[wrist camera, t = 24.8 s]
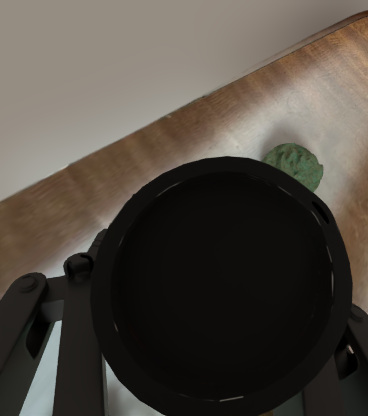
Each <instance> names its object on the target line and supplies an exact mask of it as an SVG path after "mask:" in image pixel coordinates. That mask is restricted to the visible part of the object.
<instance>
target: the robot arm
mask: <svg viewBox="0 0 368 416" xmlns="http://www.w3.org/2000/svg"><path fill="white" fill-rule="evenodd" d="M134 195H135V194H133V196H134ZM133 196H132V197H133ZM106 231H107V229H103V230H102V231H101V232H99V233H98V234H97V236H96V238H95V239H94V241H93V243H92V245H91V246H90V248H89V250H88V252H84V253H77V254H74V255H72V256H70V257H69V258H68V259H67V260H66V261H65V262H64V265H63V268H64V272H65V275H64V276H60V277H54V278H48V279H46V277H45V275H43V274H42V273H37V272H34V273H28V274H26V275H23V276H21V277H19V278H18V279H16V280H15V281H14V282H13V283H12V284H11V286H10V287H9V289H8V290H7V291H6V293H5V294H4V296H3V297H2V299H1V300H0V416H19V414H20V411H21V409H22V406H23V404H24V401H25V399H26V396H27V394H28V391H29V388H30V386H31V383H32V381H33V378H34V376H35V373H36V371H37V368H38V365H39V363H40V360H41V358H42V355H43V353H44V350H45V347H46V345H47V342H48V340H49V337H50V335H51V332H52V330H53V327H54V324H55V322H56V321H60V320H62V326H61V336H60V346H59V356H58V365H57V375H56V385H55V395H54V405H53V415H52V416H109V413H108V397H107V380H106V363H105V358H104V357H103V354H102V352H101V349H100V346H99V343H98V340H97V337H96V335H95V332H94V329H93V321H92V314H91V306H90V291H91V276H92V270H93V266H94V263H95V259H96V255H97V251H98V248H99V246H100V244H101V241H102V239H103V237H104V235H105V233H106ZM349 346H351V348H352V350H353V352H354V353H353V354H352V353H351V351H350V350H349V348H348V347H349ZM273 416H368V315H367V314H366V312H365V311H363V310H362V309H361V308H360V307H358V306H356V305H355V304H353V303H352V307H351V311H350V315H349V318H348V322H347V326H346V330H345V332H344V334H343V336H342V338H341V340H340V342H339V344H338V346H337V348H336V350H335V352H334V354H333V355H332V356H331V358H330V359H329V360H328V362H327V363H326V364H325V366H324V367H323V368H322V370H321V371H320V372H319V374H318V375H317V376H316V377H315V378H314V379H313V380H312V381H311V382H310V383H309V384H308V385H307V386H305V387H304V388H303V389H302V390H301V391H300V392H299V393H298V394H297V395H295V396H294V397H292V398H291V399H289V400H287V401H286V402H284V403H283V404H281V405H280V406H278V407H277V408H275V409H273Z"/></svg>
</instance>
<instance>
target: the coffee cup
mask: <svg viewBox="0 0 368 416" xmlns="http://www.w3.org/2000/svg"><path fill="white" fill-rule="evenodd" d="M352 287H353V282H352V276H351V269H350V262H349V259H348V255H347V252H346V248H345V245H344V242H343V239H342V236H341V234H340V231H339V229H338V226H337V224H336V221H335V219H334V217H333V215H332V213H331V211H330V209H329V208H328V206H327V205H326V204H325V203H324V202H323V201H322V200H321V199H320V198H319V197H318V196H316V195H315V194H314V193H313V192H312V191H310V190H309V189H308V188H307V187H305V186H304V185H303V184H302V183H300V182H299V181H298V180H296V179H294V178H293V177H291V176H290V175H288V174H287V173H285V172H284V171H282V170H280V169H278V168H276V167H274V166H272V165H269V164H267V163H264V162H261V161H257V160H254V159H250V158H243V157H231V156H225V157H215V158H205V159H201V160H198V161H194V162H190V163H187V164H183V165H181V166H179V167H176V168H174V169H172V170H170V171H167V172H165V173H163V174H161V175H160V176H158V177H157V178H155V179H154V180H152V181H151V182H149V183H148V184H146V185H145V186H143V187H142V188H141V189H140V190H139V191H138V192H137V193H136V194H135V195H134V196H133V197H132V198H131V199H129V200H128V201H127V202H126V203H125V204H124V206H123V207H122V209H121V210H120V211H119V213H118V214H117V215H116V217H115V218H114V219H113V221H112V222H111V223H110V225H109V227H108V229H107V231H106V233H105V235H104V237H103V239H102V241H101V244H100V246H99V248H98V251H97V255H96V259H95V263H94V266H93V270H92V276H91V291H90V306H91V314H92V321H93V329H94V332H95V335H96V337H97V340H98V343H99V346H100V349H101V352H102V354H103V357H104V358H105V360H106V361H107V363H108V364H109V366H110V368H111V369H112V371H113V372H114V374H115V375H116V377H117V379H118V380H119V381H120V382H121V383H122V384H123V385H124V386H125V387H126V388H127V389H128V390H129V391H130V392H131V393H132V394H133V395H134V396H135V397H136V398H137V399H138V400H140V401H141V402H143V403H145V404H146V405H148V406H150V407H151V408H153V409H155V410H156V411H158V412H159V413H161V414H163V415H165V416H258V415H261V414H264V413H266V412H269V411H271V410H273V409H275V408H277V407H278V406H280V405H281V404H283V403H284V402H286V401H287V400H289V399H291V398H292V397H294V396H295V395H297V394H298V393H299V392H300V391H301V390H302V389H303V388H304V387H305V386H307V385H308V384H309V383H310V382H311V381H312V380H313V379H314V378H315V377H316V376H317V375H318V374H319V372H320V371H321V370H322V368H323V367H324V366H325V364H326V363H327V362H328V360H329V359H330V358H331V356H332V355H333V354H334V352H335V350H336V348H337V346H338V344H339V342H340V340H341V338H342V336H343V334H344V332H345V330H346V326H347V322H348V318H349V315H350V311H351V307H352Z"/></svg>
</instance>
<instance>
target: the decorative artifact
mask: <svg viewBox="0 0 368 416" xmlns="http://www.w3.org/2000/svg"><path fill="white" fill-rule="evenodd" d="M262 162H264V163H267V164H269V165H272V166H274V167H276V168H278V169H280V170H282V171H284V172H285V173H287V174H288V175H290V176H291V177H293V178H294V179H296V180H298V181H299V182H300V183H302V184H303V185H304V186H305V187H307V188H308V189H309V190H310V191H312V192H314V191H315V190H316V189H317V187H318V185H319V183H320V180H321V179H322V176H323V165H319V163H318V160H317V158H316V156H315V155H314V154H312V153H311V152H310V151H308V150H307V149H306V148H304V147H302V146H299V145H296V144H295V143H291V144H282V145H279V146H277V147H275V148H274V149H273V150H272V151H271V152H270V153H269V154H268V155H267V156H266V157H265V158H264V159H263V160H262Z"/></svg>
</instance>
